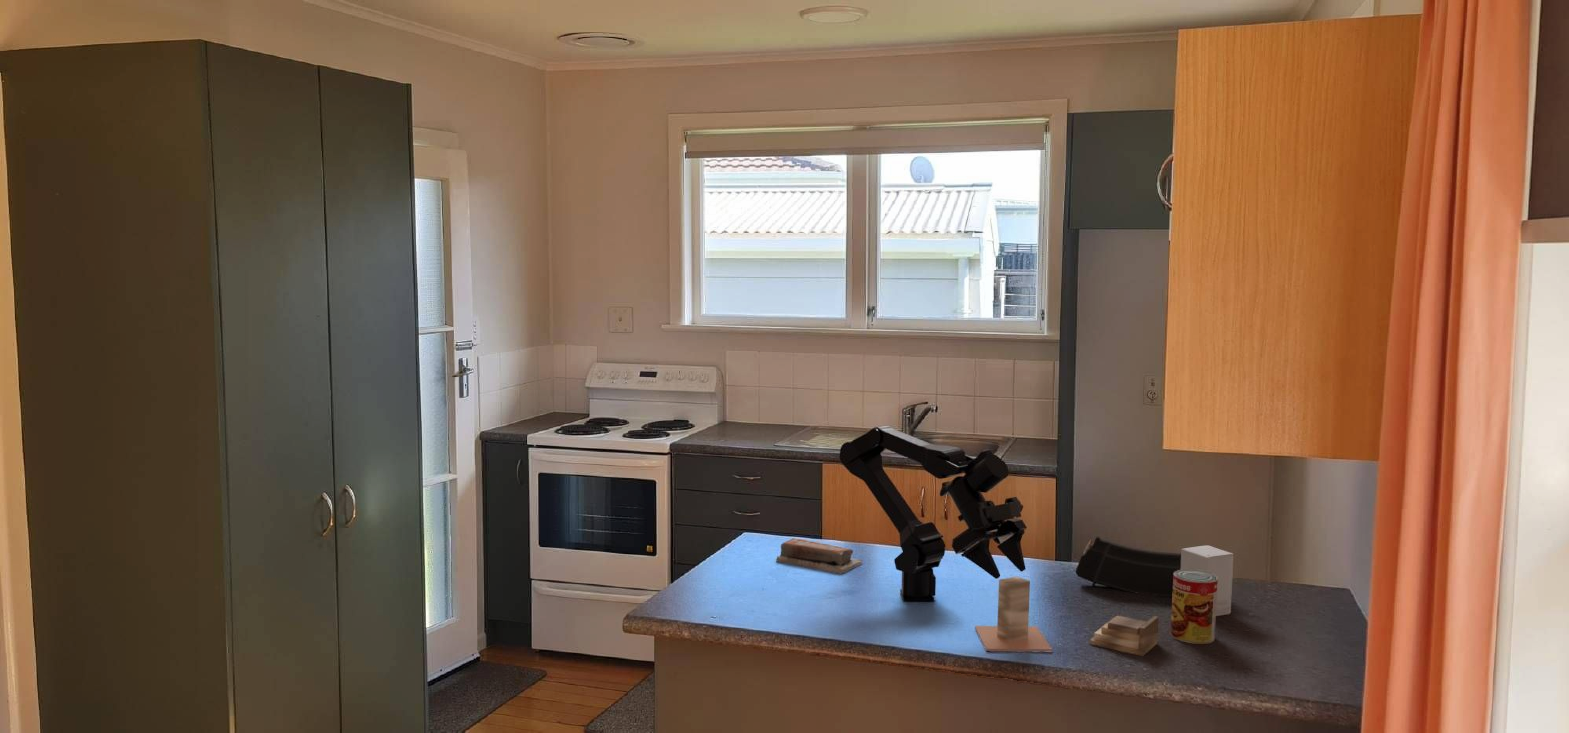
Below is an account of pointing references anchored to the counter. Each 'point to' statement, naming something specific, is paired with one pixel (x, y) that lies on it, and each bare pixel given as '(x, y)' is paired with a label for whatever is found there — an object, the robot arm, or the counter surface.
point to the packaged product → (817, 556)
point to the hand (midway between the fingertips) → (1011, 574)
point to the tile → (998, 644)
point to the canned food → (1194, 606)
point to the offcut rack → (1127, 635)
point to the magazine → (1128, 568)
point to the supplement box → (1212, 571)
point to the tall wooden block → (1013, 609)
